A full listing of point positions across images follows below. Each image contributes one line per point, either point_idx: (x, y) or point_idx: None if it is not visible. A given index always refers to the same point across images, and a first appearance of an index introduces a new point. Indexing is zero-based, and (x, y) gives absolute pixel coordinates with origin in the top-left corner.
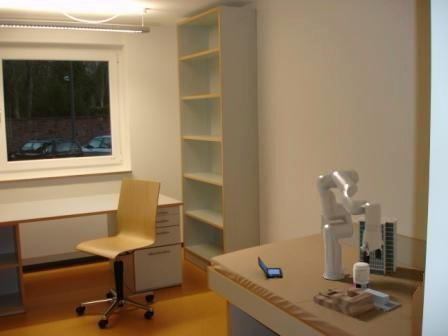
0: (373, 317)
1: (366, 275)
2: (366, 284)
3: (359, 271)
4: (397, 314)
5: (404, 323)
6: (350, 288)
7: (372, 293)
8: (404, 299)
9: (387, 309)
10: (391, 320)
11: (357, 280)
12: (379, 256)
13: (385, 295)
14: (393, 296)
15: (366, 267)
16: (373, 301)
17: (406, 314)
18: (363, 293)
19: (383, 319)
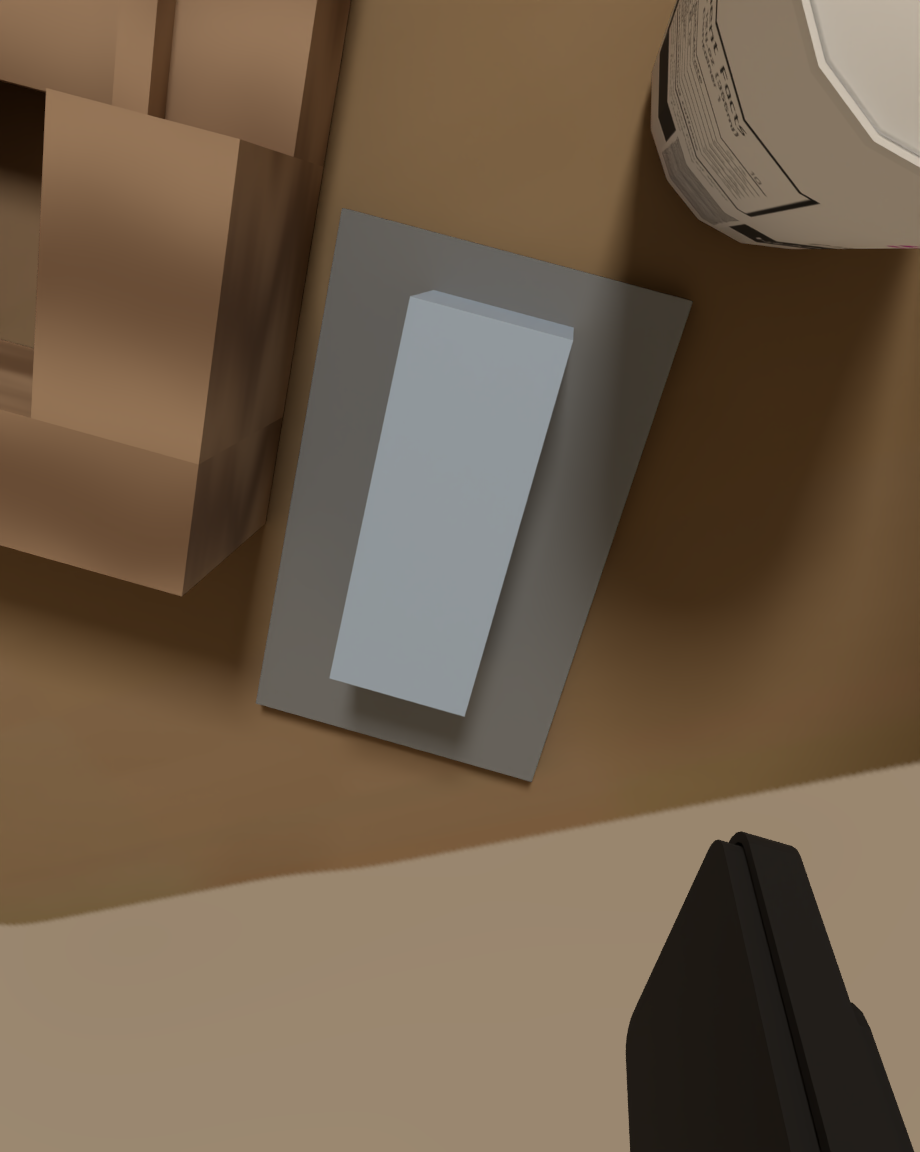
0: (21, 613)
1: (793, 218)
2: (743, 224)
3: (710, 15)
4: (263, 796)
5: (110, 892)
6: (147, 115)
7: (386, 486)
8: (757, 760)
9: (271, 699)
10: (86, 783)
11: (676, 16)
12: (654, 1102)
13: (421, 678)
14: (804, 617)
15: (897, 194)
16: (230, 551)
17: (321, 867)
18: (88, 450)
19: (51, 714)
